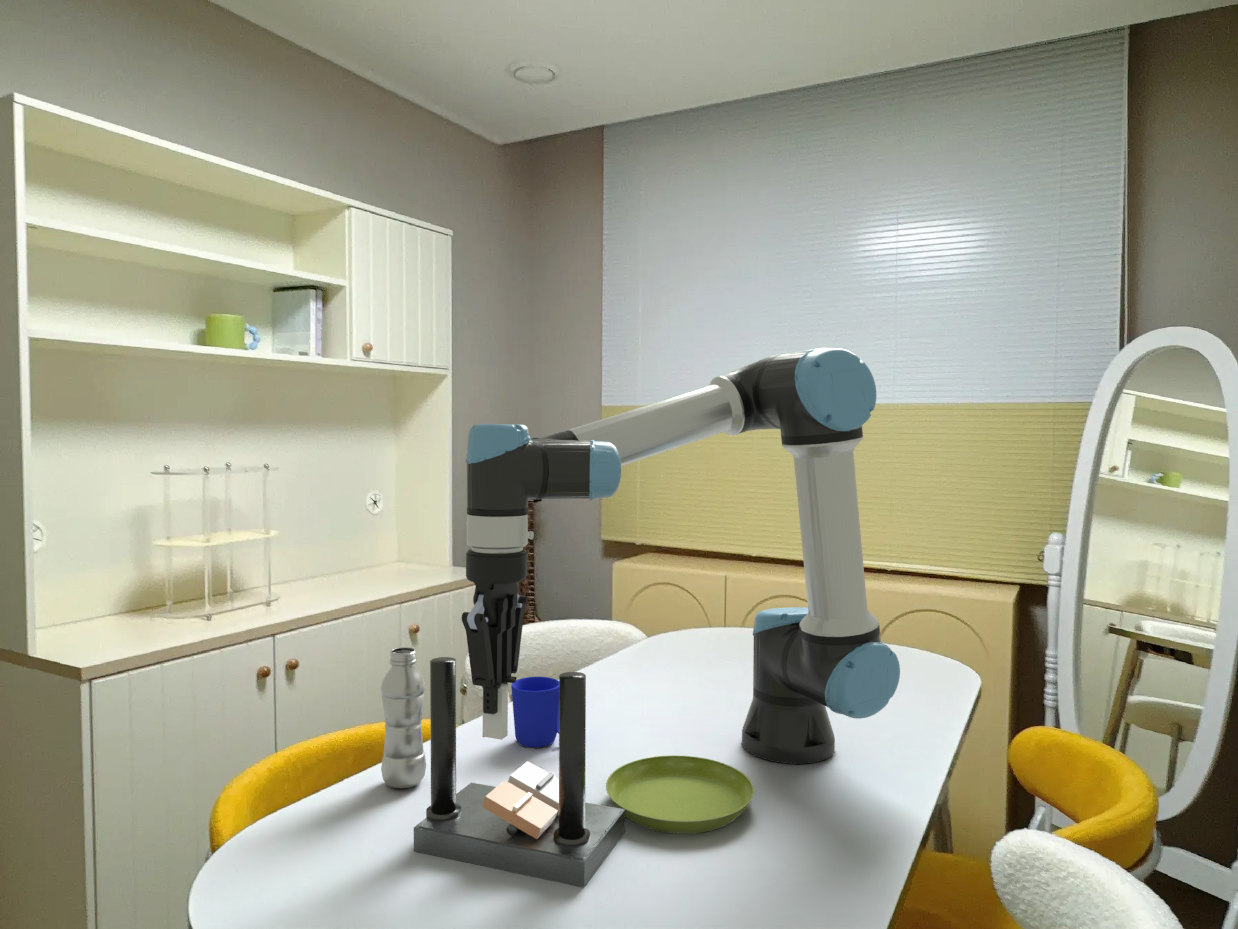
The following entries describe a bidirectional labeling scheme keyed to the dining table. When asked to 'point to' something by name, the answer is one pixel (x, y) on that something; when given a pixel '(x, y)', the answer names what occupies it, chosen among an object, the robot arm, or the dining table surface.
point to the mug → (536, 711)
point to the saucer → (680, 793)
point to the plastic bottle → (403, 721)
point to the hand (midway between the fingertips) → (495, 736)
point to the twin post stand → (462, 820)
